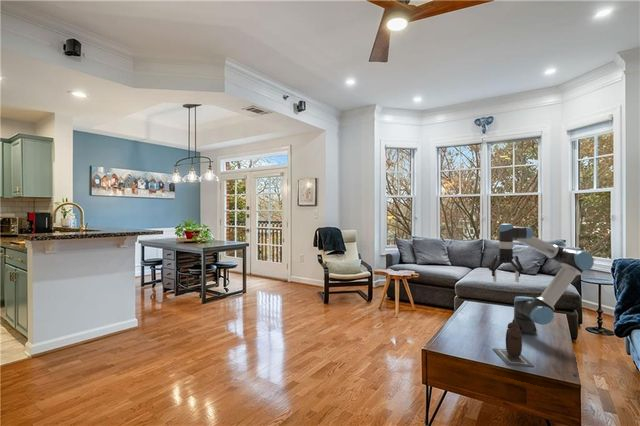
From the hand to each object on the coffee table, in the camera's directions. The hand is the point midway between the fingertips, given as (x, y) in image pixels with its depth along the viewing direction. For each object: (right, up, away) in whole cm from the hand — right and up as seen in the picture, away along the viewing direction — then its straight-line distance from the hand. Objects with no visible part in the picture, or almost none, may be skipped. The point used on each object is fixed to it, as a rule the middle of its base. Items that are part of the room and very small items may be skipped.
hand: (505, 281), depth 212 cm
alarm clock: (-12, -35, -28) cm, 47 cm away
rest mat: (-12, -36, -28) cm, 47 cm away
